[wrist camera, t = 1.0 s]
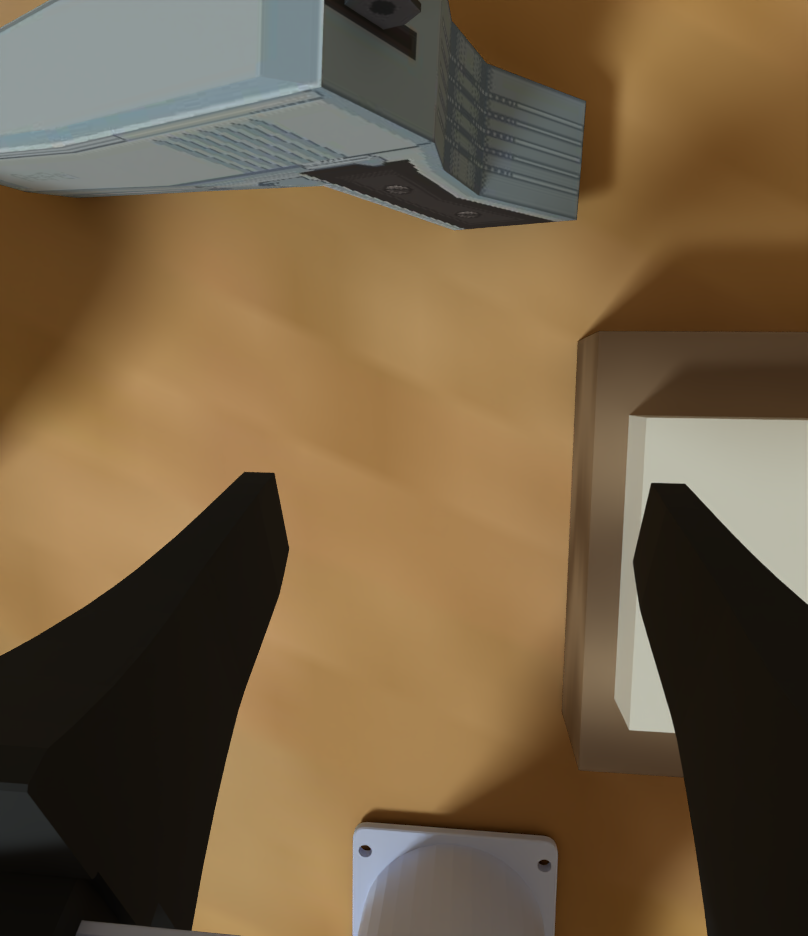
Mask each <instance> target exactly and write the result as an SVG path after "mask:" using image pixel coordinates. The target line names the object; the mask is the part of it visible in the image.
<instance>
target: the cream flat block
mask: <svg viewBox="0 0 808 936" xmlns="http://www.w3.org/2000/svg"><path fill="white" fill-rule="evenodd" d="M651 483H680V484H686V485H687V486H688V487H689V488H690V489H691V490H692V491H693V492H694V493H695V494H696V495H697V497H698V498H699V499H700V500H701V501H702V502H703V503H704V504H705V505H706V506H707V507H708V508H709V509H710V511H711V512H712V513H713V514H714V515H715V516H716V517H717V518H718V519H719V520H720V521H721V522H722V523H723V524H724V525H725V526H726V527H727V529H728V530H729V531H730V532H731V533H732V534H733V535H734V536H735V537H736V538H737V539H738V540H739V541H740V542H741V543H742V544H743V545H744V546H745V547H746V548H747V549H748V550H749V551H750V552H751V553H752V554H753V555H754V556H755V557H756V558H757V559H758V560H759V561H760V562H761V563H762V564H763V565H764V566H765V567H767V568H768V569H769V570H770V571H771V572H772V573H773V574H774V575H775V576H776V577H777V578H778V579H779V580H781V581H782V582H783V583H784V584H785V585H786V586H787V587H789V588H790V589H791V590H792V591H793V592H794V593H795V594H796V595H798V596H799V597H800V598H801V599H802V600H803V601H804V602H806V603H807V604H808V418H769V417H709V416H649V415H629V427H628V446H627V465H626V485H625V504H624V523H623V542H622V561H621V580H620V599H619V618H618V638H617V657H616V676H615V695H614V699H615V701H616V703H617V705H618V707H619V710H620V712H621V714H622V716H623V718H624V720H625V722H626V724H627V726H628V729H629V730H634V731H650V732H667V733H675V730H674V726H673V722H672V718H671V714H670V711H669V708H668V704H667V701H666V698H665V694H664V691H663V687H662V684H661V681H660V677H659V674H658V671H657V667H656V664H655V660H654V657H653V654H652V650H651V647H650V644H649V640H648V637H647V633H646V630H645V626H644V623H643V619H642V616H641V612H640V608H639V601H638V595H637V589H636V582H635V575H634V568H633V558H634V554H635V549H636V545H637V541H638V537H639V532H640V528H641V524H642V520H643V515H644V511H645V507H646V503H647V498H648V494H649V490H650V486H651Z"/></svg>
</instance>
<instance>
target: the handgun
mask: <svg viewBox="0 0 808 936" xmlns="http://www.w3.org/2000/svg"><path fill="white" fill-rule="evenodd" d="M585 109H586V101H584V100H581V99H579V98H576V97H573V96H571V95H568V94H565V93H563V92H560V91H558V90H555V89H552V88H550V87H547V86H545V85H542V84H539V83H537V82H534V81H531V80H529V79H526V78H524V77H521V76H518V75H516V74H513V73H510V72H508V71H505V70H503V69H500V68H497V67H495V66H492V65H490V64H487V63H486V62H485V61H484V59H483V58H482V57H481V56H480V55H479V53H478V52H477V51H476V50H475V48H474V47H473V46H472V45H471V44H470V42H469V41H468V40H467V39H466V37H465V36H464V35H463V34H462V33H461V31H460V30H459V29H458V28H457V26H456V25H455V24H454V23H453V22H452V19H451V14H450V8H449V3H448V0H49V1H47V2H45V3H43V4H42V5H40V6H38V7H36V8H35V9H33V10H31V11H29V12H28V13H26V14H24V15H22V16H20V17H19V18H17V19H15V20H13V21H12V22H10V23H8V24H6V25H4V26H3V27H1V28H0V185H3V186H7V187H11V188H14V189H18V190H21V191H25V192H32V193H40V194H49V195H57V196H65V197H74V198H82V197H102V196H121V195H141V194H160V193H180V192H199V191H220V190H242V189H264V188H286V187H308V186H326V187H329V188H332V189H335V190H338V191H341V192H344V193H347V194H350V195H353V196H356V197H359V198H362V199H365V200H368V201H371V202H373V203H376V204H379V205H382V206H385V207H388V208H391V209H394V210H397V211H400V212H403V213H406V214H409V215H411V216H414V217H417V218H420V219H423V220H426V221H429V222H432V223H435V224H438V225H440V226H443V227H446V228H449V229H452V230H462V229H474V228H486V227H497V226H509V225H521V224H533V223H545V222H557V221H569V220H577V210H578V197H579V185H580V172H581V159H582V147H583V134H584V121H585Z"/></svg>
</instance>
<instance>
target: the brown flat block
mask: <svg viewBox="0 0 808 936" xmlns="http://www.w3.org/2000/svg"><path fill="white" fill-rule="evenodd" d="M629 415H649V416H709V417H769V418H808V332H688V331H598V332H596V333H594V334H592V335H590V336H588V337H586V338H584V339H582V340H580V341H578V349H577V372H576V395H575V418H574V442H573V465H572V488H571V512H570V535H569V558H568V582H567V605H566V628H565V651H564V675H563V698H562V714H563V717H564V720H565V724H566V727H567V731H568V734H569V738H570V741H571V745H572V748H573V752H574V755H575V759H576V762H577V766H578V769H579V770H582V771H597V772H612V773H627V774H641V775H656V776H671V777H684V776H683V771H682V765H681V760H680V754H679V749H678V743H677V738H676V734H675V733H667V732H650V731H634V730H629V729H628V726H627V724H626V722H625V720H624V718H623V716H622V714H621V712H620V710H619V707H618V705H617V703H616V701H615V699H614V695H615V676H616V657H617V638H618V618H619V599H620V580H621V561H622V542H623V523H624V504H625V485H626V465H627V446H628V427H629Z"/></svg>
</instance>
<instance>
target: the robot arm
mask: <svg viewBox="0 0 808 936" xmlns="http://www.w3.org/2000/svg"><path fill="white" fill-rule="evenodd" d="M288 552H289V545H288V540H287V535H286V530H285V525H284V520H283V515H282V510H281V504H280V499H279V494H278V489H277V484H276V479H275V474H274V473H260V472H244V473H243V474H242V475H241V476H240V477H239V478H237V479H236V480H235V481H234V482H233V483H232V484H231V485H230V486H229V487H228V488H227V489H226V490H225V491H224V492H223V493H222V494H221V495H220V496H219V497H218V498H216V499H215V500H214V501H213V502H212V503H211V504H210V505H209V506H208V507H207V508H206V509H205V510H204V511H203V512H202V513H201V514H200V515H199V516H198V517H197V518H195V519H194V520H193V521H192V522H191V523H190V524H189V525H188V526H187V527H186V528H185V529H183V530H182V531H181V532H180V533H179V534H178V535H177V536H176V537H175V538H174V539H172V540H171V541H170V542H169V543H168V544H166V545H165V546H164V547H163V548H162V549H160V550H159V551H158V552H157V553H156V554H155V555H153V556H152V557H151V558H150V559H149V560H147V561H146V562H145V563H144V564H143V565H141V566H140V567H139V568H138V569H136V570H135V571H134V572H133V573H131V574H130V575H129V576H127V577H126V578H125V579H123V580H122V581H121V582H119V583H118V584H117V585H115V586H114V587H113V588H111V589H110V590H108V591H107V592H105V593H104V594H103V595H101V596H100V597H98V598H97V599H95V600H94V601H93V602H91V603H90V604H88V605H87V606H85V607H84V608H82V609H80V610H79V611H77V612H75V613H74V614H72V615H71V616H69V617H67V618H66V619H64V620H62V621H61V622H59V623H57V624H56V625H54V626H53V627H51V628H49V629H48V630H46V631H44V632H43V633H41V634H40V635H38V636H36V637H34V638H33V639H31V640H29V641H27V642H25V643H24V644H22V645H20V646H18V647H16V648H14V649H13V650H11V651H9V652H7V653H5V654H3V655H1V656H0V936H239V935H229V934H218V933H208V932H198V931H192V925H193V919H194V914H195V908H196V903H197V897H198V892H199V886H200V881H201V875H202V869H203V864H204V859H205V854H206V850H207V845H208V840H209V835H210V830H211V825H212V820H213V815H214V810H215V806H216V801H217V797H218V793H219V788H220V784H221V779H222V775H223V771H224V766H225V762H226V758H227V754H228V750H229V746H230V742H231V738H232V734H233V730H234V726H235V722H236V718H237V714H238V710H239V707H240V704H241V701H242V697H243V694H244V691H245V688H246V685H247V683H248V680H249V677H250V674H251V672H252V669H253V666H254V663H255V661H256V658H257V655H258V652H259V650H260V647H261V644H262V642H263V639H264V636H265V633H266V631H267V628H268V625H269V622H270V619H271V617H272V614H273V611H274V608H275V605H276V602H277V600H278V597H279V594H280V589H281V585H282V581H283V576H284V572H285V567H286V562H287V557H288ZM633 568H634V575H635V582H636V589H637V595H638V601H639V608H640V612H641V616H642V619H643V623H644V626H645V630H646V633H647V637H648V640H649V644H650V647H651V650H652V654H653V657H654V660H655V664H656V667H657V671H658V674H659V677H660V681H661V684H662V687H663V691H664V694H665V698H666V701H667V704H668V708H669V711H670V714H671V718H672V722H673V726H674V730H675V734H676V738H677V743H678V749H679V754H680V760H681V765H682V771H683V776H684V781H685V787H686V792H687V799H688V805H689V811H690V817H691V823H692V829H693V835H694V841H695V847H696V854H697V861H698V868H699V875H700V882H701V889H702V896H703V903H704V910H705V918H706V927H707V935H708V936H808V604H807V603H806V602H804V601H803V600H802V599H801V598H800V597H799V596H798V595H796V594H795V593H794V592H793V591H792V590H791V589H790V588H789V587H787V586H786V585H785V584H784V583H783V582H782V581H781V580H779V579H778V578H777V577H776V576H775V575H774V574H773V573H772V572H771V571H770V570H769V569H768V568H767V567H765V566H764V565H763V564H762V563H761V562H760V561H759V560H758V559H757V558H756V557H755V556H754V555H753V554H752V553H751V552H750V551H749V550H748V549H747V548H746V547H745V546H744V545H743V544H742V543H741V542H740V541H739V540H738V539H737V538H736V537H735V536H734V535H733V534H732V533H731V532H730V531H729V530H728V529H727V527H726V526H725V525H724V524H723V523H722V522H721V521H720V520H719V519H718V518H717V517H716V516H715V515H714V514H713V513H712V512H711V511H710V509H709V508H708V507H707V506H706V505H705V504H704V503H703V502H702V501H701V500H700V499H699V498H698V497H697V495H696V494H695V493H694V492H693V491H692V490H691V489H690V488H689V487H688V486H687V485H686V484H680V483H651V486H650V490H649V494H648V498H647V503H646V507H645V511H644V515H643V520H642V524H641V528H640V532H639V537H638V541H637V545H636V549H635V554H634V558H633ZM362 845H367V846H369V847H370V848H371V850H367V851H366V850H363V849H362V848H361V846H362ZM541 860H548V861H549V863H548V864H547V865H541V864H539V863H538V862H539V861H541ZM557 867H558V851H557V846H556V843H555V841H554V840H553V839H551V838H550V837H547V836H540V835H527V834H514V833H501V832H489V831H476V830H463V829H450V828H437V827H424V826H411V825H399V824H386V823H373V822H362V823H360V824H358V825H357V827H356V828H355V831H354V836H353V936H555V913H556V890H557Z"/></svg>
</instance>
